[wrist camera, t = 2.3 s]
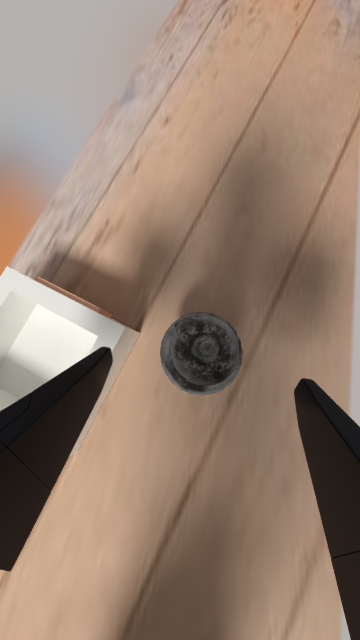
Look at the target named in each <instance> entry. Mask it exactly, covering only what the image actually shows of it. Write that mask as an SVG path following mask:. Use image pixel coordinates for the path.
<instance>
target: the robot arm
mask: <svg viewBox="0 0 360 640" xmlns="http://www.w3.org/2000/svg"><path fill="white" fill-rule="evenodd" d="M112 363H113V356H112V351H111V348H109V347H100V348H99V349H97V350H96V351H94V352H92V353H91V354H89V355H88V356H86V357H85V358H83V359H82V360H80V361H78V362H77V363H75V364H74V365H72V366H71V367H69V368H68V369H66V370H64V371H63V372H61V373H60V374H58V375H57V376H55V377H54V378H52V379H51V380H49V381H47V382H46V383H44V384H43V385H41V386H40V387H38V388H37V389H35V390H33V391H32V392H30V393H29V394H27V395H26V396H24V397H22V398H21V399H19V400H18V401H16V402H14V403H13V404H11V405H10V406H8V407H6V408H4V409H3V410H1V411H0V570H5V571H9V572H10V571H11V570H12V568H13V566H14V564H15V562H16V560H17V558H18V556H19V554H20V552H21V550H22V549H23V547H24V545H25V543H26V541H27V539H28V537H29V535H30V533H31V531H32V529H33V527H34V525H35V523H36V521H37V519H38V517H39V515H40V513H41V511H42V509H43V507H44V505H45V503H46V501H47V499H48V497H49V495H50V493H51V491H52V489H53V487H54V485H55V483H56V481H57V479H58V477H59V475H60V473H61V471H62V469H63V467H64V465H65V463H66V461H67V459H68V457H69V456H70V454H71V452H72V450H73V448H74V446H75V444H76V442H77V440H78V438H79V436H80V434H81V432H82V430H83V428H84V426H85V424H86V422H87V420H88V418H89V416H90V414H91V412H92V410H93V408H94V406H95V404H96V402H97V400H98V398H99V396H100V394H101V392H102V390H103V387H104V385H105V382H106V379H107V377H108V374H109V371H110V369H111V366H112ZM294 396H295V404H296V412H297V419H298V426H299V431H300V435H301V439H302V443H303V447H304V451H305V455H306V459H307V463H308V467H309V471H310V475H311V480H312V484H313V488H314V492H315V496H316V500H317V504H318V508H319V512H320V516H321V520H322V524H323V528H324V532H325V536H326V540H327V544H328V548H329V552H330V556H331V558H332V559H331V561H332V565H333V569H334V573H335V577H336V581H337V585H338V589H339V593H340V597H341V602H342V606H343V610H344V614H345V618H346V622H347V625H348V629H349V633H350V638H351V640H360V427H359V426H358V425H357V424H356V423H355V422H354V421H353V420H352V419H351V418H350V417H349V416H348V415H347V414H346V413H345V412H344V411H343V410H342V409H341V408H340V407H339V406H338V405H337V404H336V403H335V402H334V401H333V400H332V399H331V398H330V397H329V396H328V395H327V394H326V393H325V392H324V391H323V390H322V389H321V388H320V387H319V386H318V385H317V384H316V383H315V382H314V381H313V380H311V379H305V378H302V379H301V380H300V382H299V383H298V385H297V386H296V388H295V390H294Z"/></svg>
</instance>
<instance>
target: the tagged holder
mask: <svg viewBox="0 0 360 640" xmlns="http://www.w3.org/2000/svg"><path fill="white" fill-rule="evenodd" d="M112 315H113V314H111V313H109V312H107V311H105V310H103V309H101V308H99V307H97V306H95V305H93V304H91V303H90V302H88V301H86V300H84V299H82V298H80V297H78V296H76V295H74V294H72V293H70V292H68V291H66V290H64V289H62V288H60V287H58V286H56V285H54V284H52V283H50V282H48V281H46V280H44V279H42V278H40V277H37V279H36V280H35V279H33V278H31V277H28V276H26V275H24V274H22V273H20V272H18V271H16V270H14V269H12V268H9V267H6V269H5V270H4V272H3V273H2V275H1V277H0V411H1V410H3V409H4V408H6V407H8V406H10V405H11V404H13V403H14V402H16V401H18V400H19V399H21V398H22V397H24V396H26V395H27V394H29V393H30V392H32V391H33V390H35V389H37V388H38V387H40V386H41V385H43V384H44V383H46V382H47V381H49V380H51V379H52V378H54V377H55V376H57V375H58V374H60V373H61V372H63V371H64V370H66V369H68V368H69V367H71V366H72V365H74V364H75V363H77V362H78V361H80V360H82V359H83V358H85V357H86V356H88V355H89V354H91V353H92V352H94V351H96V350H97V349H99V348H100V347H109V348H111V351H112V356H113V363H112V366H111V369H110V371H109V374H108V377H107V379H106V382H105V385H104V387H103V390H102V392H101V394H100V396H99V398H98V400H97V402H96V404H95V406H94V408H93V410H92V412H91V414H90V416H89V418H88V420H87V422H86V424H85V426H84V428H83V430H82V432H81V434H80V436H79V438H78V440H77V442H76V444H75V446H74V448H73V450H72V452H71V454H70V456H71V455H73V454H74V453H75V452H76V451H78V449H79V447H80V446H81V444H82V442H83V440H84V438H85V436H86V434H87V432H88V430H89V429H90V427H91V425H92V423H93V421H94V419H95V417H96V415H97V413H98V412H99V410H100V408H101V406H102V404H103V402H104V400H105V398H106V396H107V395H108V393H109V391H110V389H111V387H112V385H113V383H114V381H115V379H116V377H117V376H118V374H119V372H120V370H121V368H122V366H123V364H124V362H125V360H126V359H127V357H128V355H129V353H130V351H131V349H132V347H133V345H134V343H135V342H136V340H137V338H138V336H139V334H140V333H139V332H137V331H135V330H133V329H131V328H129V327H127V326H125V325H123V324H121V323H119V322H118V321H116V320H114V319H112V318H111V316H112ZM70 456H69V457H70ZM69 457H68V458H69Z"/></svg>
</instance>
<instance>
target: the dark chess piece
mask: <svg viewBox="0 0 360 640" xmlns="http://www.w3.org/2000/svg"><path fill="white" fill-rule="evenodd" d="M160 356H161V363H162V366H163V368H164V371H165V373H166V375H167V376H168V378H169V379H170V380H171V382H172V383H174V384H175V385H176V386H177V387H179V388H180V389H181V390H184V391H186V392H188V393H191V394H197V395H207V394H213V393H216V392H218V391H220V390H223V389H224V388H225V387H226V386H228V385H229V384H230V383H231V382H232V381H233V380H234V378H235V377H236V375H237V374H238V372H239V369H240V366H241V363H242V347H241V341H240V339H239V337H238V335H237V333H236V331H235V330H234V329H233V327H232V326H231V325H230V324H229V323H228V322H227V321H225V320H224V319H222V318H221V317H219V316H216V315H214V314H211V313H203V312H197V313H191V314H188V315H185V316H183V317H181V318H179V319H178V320H177V321H175V322H174V323H173V324H172V325H171V326H170V327H169V329H168V330H167V331H166V333H165V335H164V337H163V340H162V343H161V350H160Z"/></svg>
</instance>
